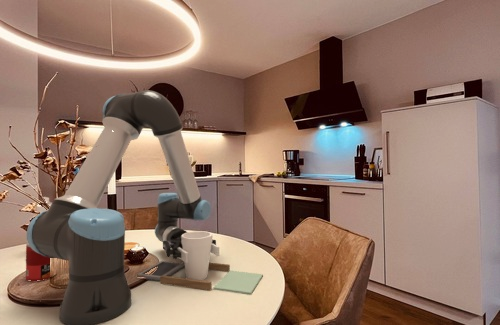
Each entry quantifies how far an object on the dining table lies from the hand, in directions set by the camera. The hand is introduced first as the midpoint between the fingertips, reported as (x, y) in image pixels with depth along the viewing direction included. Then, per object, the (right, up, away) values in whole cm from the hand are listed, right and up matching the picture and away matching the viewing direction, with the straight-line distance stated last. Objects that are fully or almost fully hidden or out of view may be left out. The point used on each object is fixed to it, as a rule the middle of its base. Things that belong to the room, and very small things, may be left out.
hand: (203, 254), depth 81 cm
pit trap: (-15, -8, +7) cm, 18 cm away
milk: (-67, -9, +27) cm, 73 cm away
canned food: (-51, -8, +3) cm, 51 cm away
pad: (+11, -8, -1) cm, 13 cm away
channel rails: (-3, -8, +4) cm, 9 cm away
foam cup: (-3, -8, +4) cm, 9 cm away
